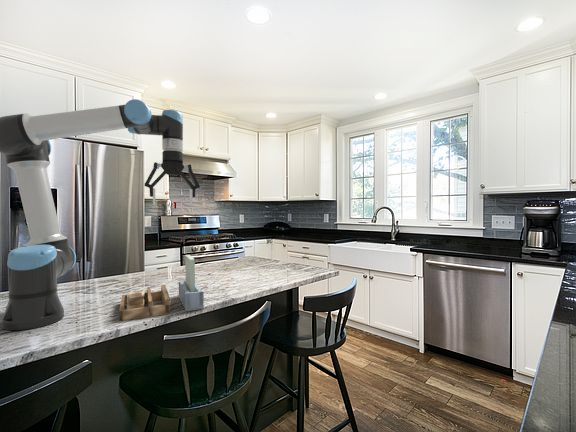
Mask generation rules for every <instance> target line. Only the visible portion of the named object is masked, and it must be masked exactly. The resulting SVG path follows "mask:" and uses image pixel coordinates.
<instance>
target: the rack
mask: <svg viewBox="0 0 576 432" xmlns="http://www.w3.org/2000/svg"><path fill="white" fill-rule="evenodd" d="M128 294H129V293H128ZM128 294H122V295H121V299H120V303H119V305H120V306H119V311H118V314H119V317H118V318H119V319H118V320H119V321H120V322H121V321H127V320H135V319H141V318H149V317H155V316H163V315H168V314H169V315H170V314H171V297H170V295H169V292H168V288H167V287H166V285H161V286H160V290H156V291H151V286H147V287H146V291H145V302H147V306H144V307H141V308H134V309H127V308H125V307H126V304H127V296H128ZM156 300H161V302H162V304H157V305H153V301H156Z"/></svg>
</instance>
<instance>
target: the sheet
mask: <svg viewBox="0 0 576 432" xmlns="http://www.w3.org/2000/svg"><path fill="white" fill-rule="evenodd" d="M184 257H185V258H184V259H185V260H184V261H185V263H184V264H185V265H184V266H185V281H186V287H187V289H188V291H189V292H190V293H191V292H195V283H196V273H195V272H196V266H195V265H196V264H195V263H196V262H195V261H196V260H195V258H194V257H193V256H192V255H191V254H185V256H184Z"/></svg>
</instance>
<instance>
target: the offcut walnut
mask: <svg viewBox="0 0 576 432" xmlns="http://www.w3.org/2000/svg"><path fill="white" fill-rule="evenodd" d="M128 303H129V305H130V306H132V305H139V304H143V295H142V293H135V294H129V293H128Z"/></svg>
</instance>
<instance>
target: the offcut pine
mask: <svg viewBox="0 0 576 432" xmlns="http://www.w3.org/2000/svg"><path fill="white" fill-rule="evenodd" d="M145 292H146V290H139V291H130V292H129V293H128V294H135V293H142V295H143V299H144V305H145V304H146V301H145ZM127 303H128V296H127ZM127 303H126V304H127Z"/></svg>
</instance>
